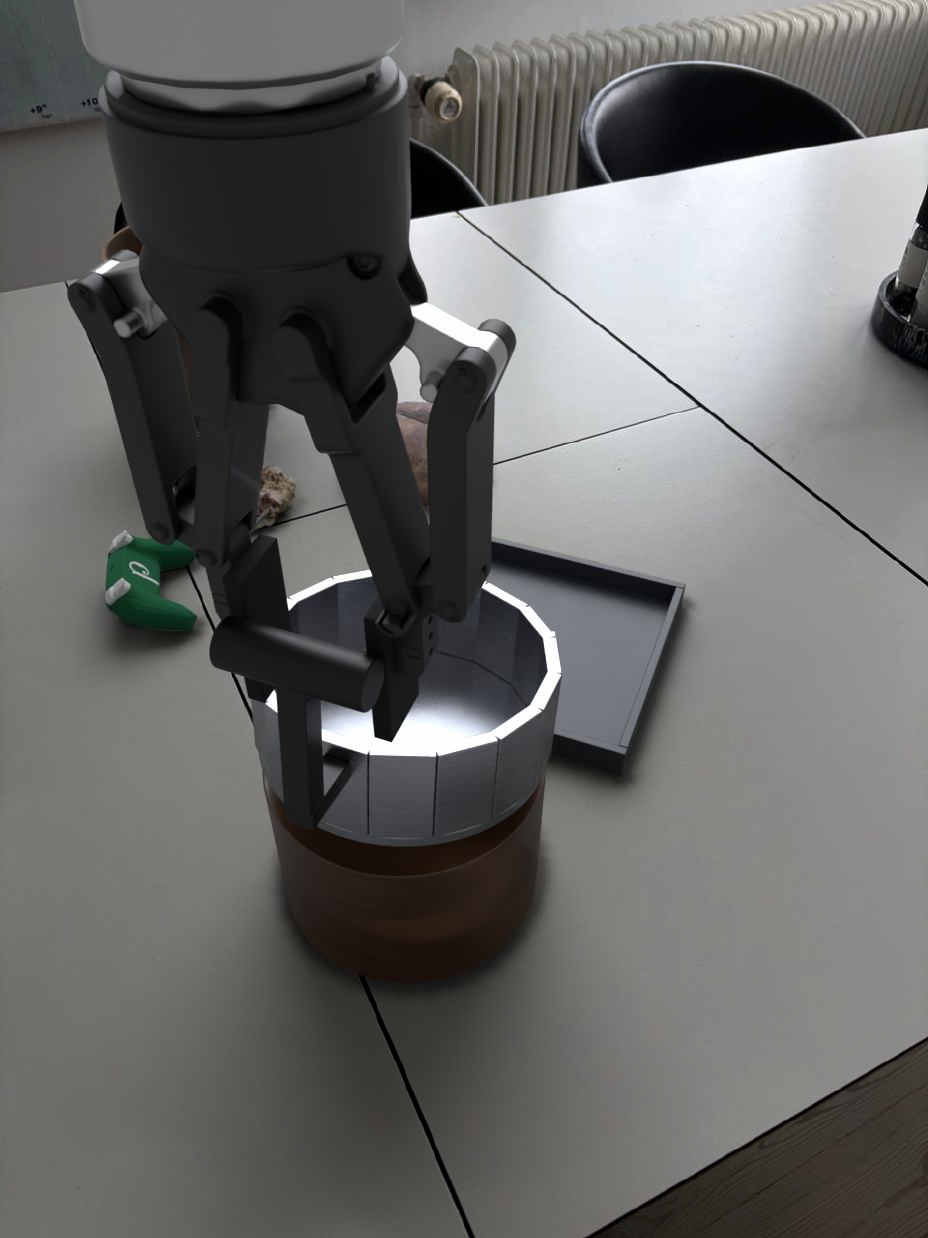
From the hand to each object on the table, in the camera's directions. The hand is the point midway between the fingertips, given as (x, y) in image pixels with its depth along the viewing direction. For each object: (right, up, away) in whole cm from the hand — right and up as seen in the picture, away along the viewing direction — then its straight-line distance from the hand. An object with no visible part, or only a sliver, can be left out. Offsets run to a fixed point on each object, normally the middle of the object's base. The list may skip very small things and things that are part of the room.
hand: (333, 695), depth 41 cm
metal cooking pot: (+2, -4, +8) cm, 9 cm away
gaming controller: (-18, +4, +34) cm, 39 cm away
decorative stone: (+1, +16, +47) cm, 49 cm away
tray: (+9, +1, +31) cm, 32 cm away
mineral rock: (-14, +12, +43) cm, 47 cm away
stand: (+2, -11, +17) cm, 21 cm away
